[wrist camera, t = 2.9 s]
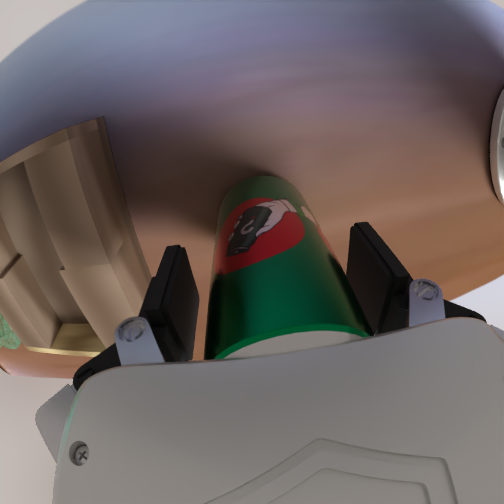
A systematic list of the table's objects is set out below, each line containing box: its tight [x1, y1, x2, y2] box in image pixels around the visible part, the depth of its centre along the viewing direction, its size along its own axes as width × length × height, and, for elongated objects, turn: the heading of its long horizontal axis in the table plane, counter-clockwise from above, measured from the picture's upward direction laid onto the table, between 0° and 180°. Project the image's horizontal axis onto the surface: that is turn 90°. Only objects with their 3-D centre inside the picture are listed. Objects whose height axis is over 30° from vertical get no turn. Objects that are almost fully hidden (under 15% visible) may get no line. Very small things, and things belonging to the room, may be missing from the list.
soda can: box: [204, 176, 374, 360], centre depth 11 cm, size 5×5×12 cm
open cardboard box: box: [0, 116, 152, 357], centre depth 15 cm, size 14×15×4 cm
